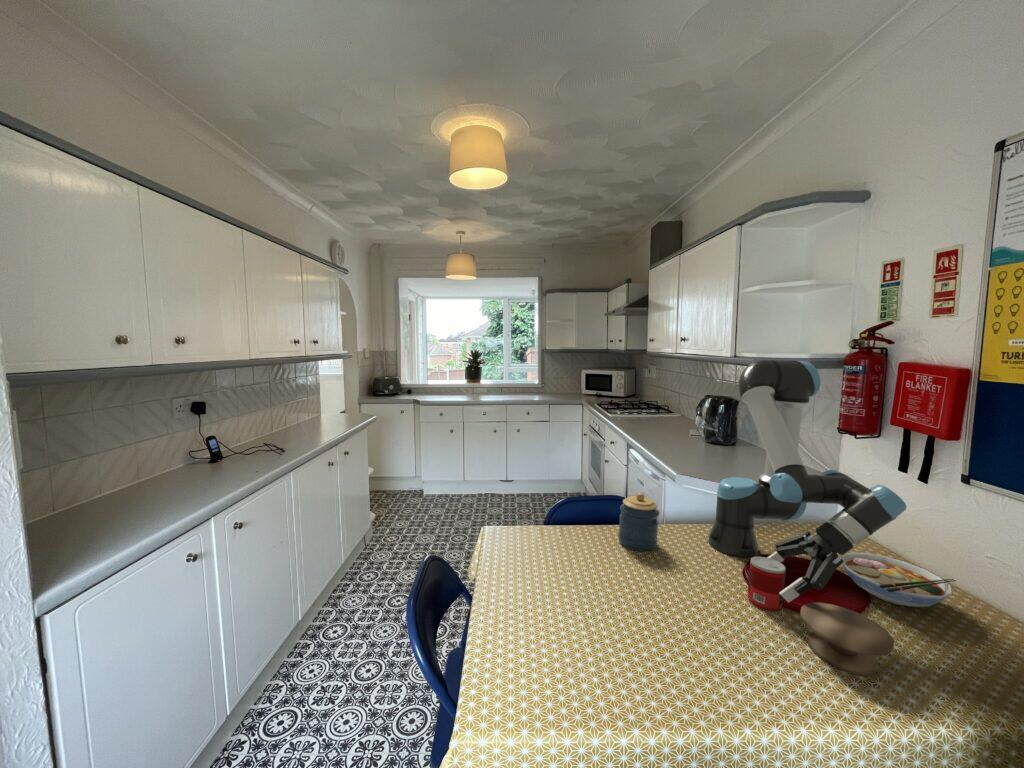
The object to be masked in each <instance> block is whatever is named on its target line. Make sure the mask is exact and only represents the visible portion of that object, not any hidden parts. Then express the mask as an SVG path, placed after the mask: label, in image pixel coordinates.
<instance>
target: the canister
mask: <svg viewBox="0 0 1024 768" xmlns="http://www.w3.org/2000/svg"><path fill="white" fill-rule="evenodd" d="M619 509H620V511H621V512H620V514H619V524H618V525H619V527H618V528H619V530H618V535H617V537H618V542H619V543H620V544H621V545H622V546H623V547H625V548H627V549H630V550H633V551H638V552H650V551H653V550H655V549H656V548H657V545H658V541H659V539H658V533H659V532H658V530H659V523H660V522H659V520H658V518H659V517H658V516H660V511H659V510H658V504H657V503H656V502H655V501H654V500H652V499H651V498H649V497H647V496H645V495H644V493H642V492H638V493H637V494H636V495H629V496H627V497H626V498H624V499H623V500H622V504H620V506H619Z"/></svg>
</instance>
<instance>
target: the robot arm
mask: <svg viewBox="0 0 1024 768" xmlns="http://www.w3.org/2000/svg"><path fill="white" fill-rule="evenodd" d="M821 384H822V383H821V376H820V373H819V370H818V369H816V366H814V364H812V363H810V362H808V361H802V360H796V359H795V360H786V359H785V360H784V359H759V360H755V361H752V362H751V363H750V364H748V365H747V366H746V367H744V369H743V371H742V372H741V374H740V376H739V379H738V392H739V395H740V398H741V401H742V402H743V403H744V404H746V405H747V407H748V410H749V412H750V415H751V417H752V420H753V422H754V425H755V428H756V430H757V432H758V434H759V437H760V440H761V443H762V445H763V447H764V451H765V453H766V457H765V467H764V473H762V474H761V475H759V477H758V482H757V481H755V479H754V480H753V479H751V478H747V477H743V478H742V477H740V476H739V477H738V476H737V477H736V476H735V477H734V476H733V477H727V478H724V479H722V480H720V481H719V483H718V486H717V491H716V495H717V496H716V507H715V508H716V511H715V520H714V523H713V526H712V527H711V530H710V531H709V534H708V538H707V541H708V542H707V543H708V544H709V545H710V546H711V547H712V548H713V549H715V550H717V551H718V552H721V553H724V554H727V555H730V556H734V557H739V558H740V557H742V558H752V557H756V556H757V555H758V553H759V544H758V540H757V536H756V532H755V520H773V521H777V520H778V521H794V520H798V519H800V518H801V517H802V516H803V515H804V513H805V511H806V509H807V503H809V504H813V503H814V504H826V505H827V504H828V505H829V504H831V505H833V504H834V505H839V506H841V507H842V508H843V509H841V510H840V511H839V512H837V513H836V514H834V515H833V516H831V517H830V518H829V519H828V521H829V522H828V521H826V522H825V521H824V523H822V524H821V525H819V526H818V527H817V528H816V529H815V532H816V534H815V535H812V533H811V532H810V531H809V530H806V531H804V532H802V533H800V534H799V535H797V536H793V537H791V538H787V539H785V540H782V541H779V542H777V543H775V544H774V547H775V551H774V552H772V553H771V554H770V555H768V556H767V557H766V558H770V559H773V560H776V561H778V562H780V563H781V564H782V562H784V561H785V560H786V558H788V557H794V556H802V555H806V556H809V557H810V558H811V561H810V563H809V566H808V568H807V570H806V574H805V575H804V576H803V575H802V576H801V577H799V578H797V579H796V580H795V581H794V582H792V583H791V584H789V585H788V586H786V587H784V590H782V591H781V592H779V593H780V595H781V596H782V597H783V600H785V601H786V602H787V603H788V604H789V603H790V602H792V601H793V600H794V599H796V598H798V597H799V596H802V595H804V594H805V593H807V592H809V590H811V589H815V590H817V591H818V592H822V591H823V590H824V588H825V587H826V586H827V583H828V582H829V581H830V579H831V578H832V576H833V574H835V571H836V570H837V569H838V567H840V566H841V565H842V563H843V560H842V559H841V556H842V555H844V554H847V553H849V552H850V551H851V550H852V549H853V548H854V545H859V544H860V543H861V542H863V541H864V540H866V539H868V538H869V537H870V536H873V534H874V533H876V532H877V531H878V530H880V529H881V528H883V527H884V526H886V525H889V524H890V523H891V522H892V521H895V520H896V519H897V518H898V517H899V516H900V515H901V514H903V513H904V512H905V511H906V510H907V503H906V502H905V501H904V500H903V499H902V498H901V496H899V495H898V494H897V493H896V492H895V491H893V490H891V489H890V488H889V487H887V486H885V485H882V484H876V485H874V486H873V487H870V488H869V487H867V486H865V485H863V484H861V483H860V482H858V481H857V480H855V479H853V478H852V477H850V476H849V475H847V474H845V473H842V472H840V471H839V470H835V469H827V470H826V471H823V472H821V473H819V474H809V473H808V472H807V469H806V468H805V467H806V466H805V465H804V462H803V460H802V458H801V456H800V453H799V452H798V451H799V444H800V443H799V441H800V432H801V423H802V417H803V416H802V415H803V408H804V407H805V406H807V405H809V403H810V398H811V397H814V396H816V395H817V393H818V392H819V391H820V388H821ZM839 555H841V556H839Z"/></svg>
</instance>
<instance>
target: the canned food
mask: <svg viewBox="0 0 1024 768" xmlns="http://www.w3.org/2000/svg"><path fill="white" fill-rule="evenodd" d="M749 562H750V563H749V573H748V586H747V599H748V601H749V603H751V604H752V605H753V606H755V607H757V608H759V609H762V610H764V611H768V612H778V611H780V610H781V609H782V607H783V604H784V603H783V601H784V598H783V597H782V596H781V595H780V593H779V592H781V591H782V590H784V589H785V584H786V573H787V570H786V566H785V565H784V564H783V563H782V562H781V563H780V562H778V561H776V560H773V559H770V558H767V557H765V556H752V557H750V561H749Z"/></svg>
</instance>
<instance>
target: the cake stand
mask: <svg viewBox="0 0 1024 768" xmlns="http://www.w3.org/2000/svg"><path fill="white" fill-rule="evenodd" d="M799 612H800V614H799V615H800V619H801V621H802V623H803V624H804V625H805V626H806V627H807V628H808V629H809V630H810V631H811V632H810V633H809V635H808V643H807V644H808V646H809V648H810V650H811V651H812V652H813V654H814V655H816V656H817V657H818V658H819V659H820V660H822V661H823V662H824V663H827V664H828V665H830V666H832V667H834V668H836V669H838V670H840V671H843V672H845V673H847V674H851V675H856V676H863V677H867V676H873V675H875V674H876V673H877V672H878V671H879V659H878V657H877V656H886V655H889V654H891V653H892V652H893V651H894V646H895V641H894V638H893V636H892V634H891V633H889V631H888V630H887V629H886V628H885V627H883V626H881V624H879V623H878V622H876V621H874V620H872V619H871V618H870V617H868V616H865V615H863V614H861V613H859V612H857V611H855V610H851V609H849V608H846V607H843V606H839V605H836V604H831V603H827V602H826V603H825V602H808V603H805V604H804V605H802V606H801V608H800V611H799Z"/></svg>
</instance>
